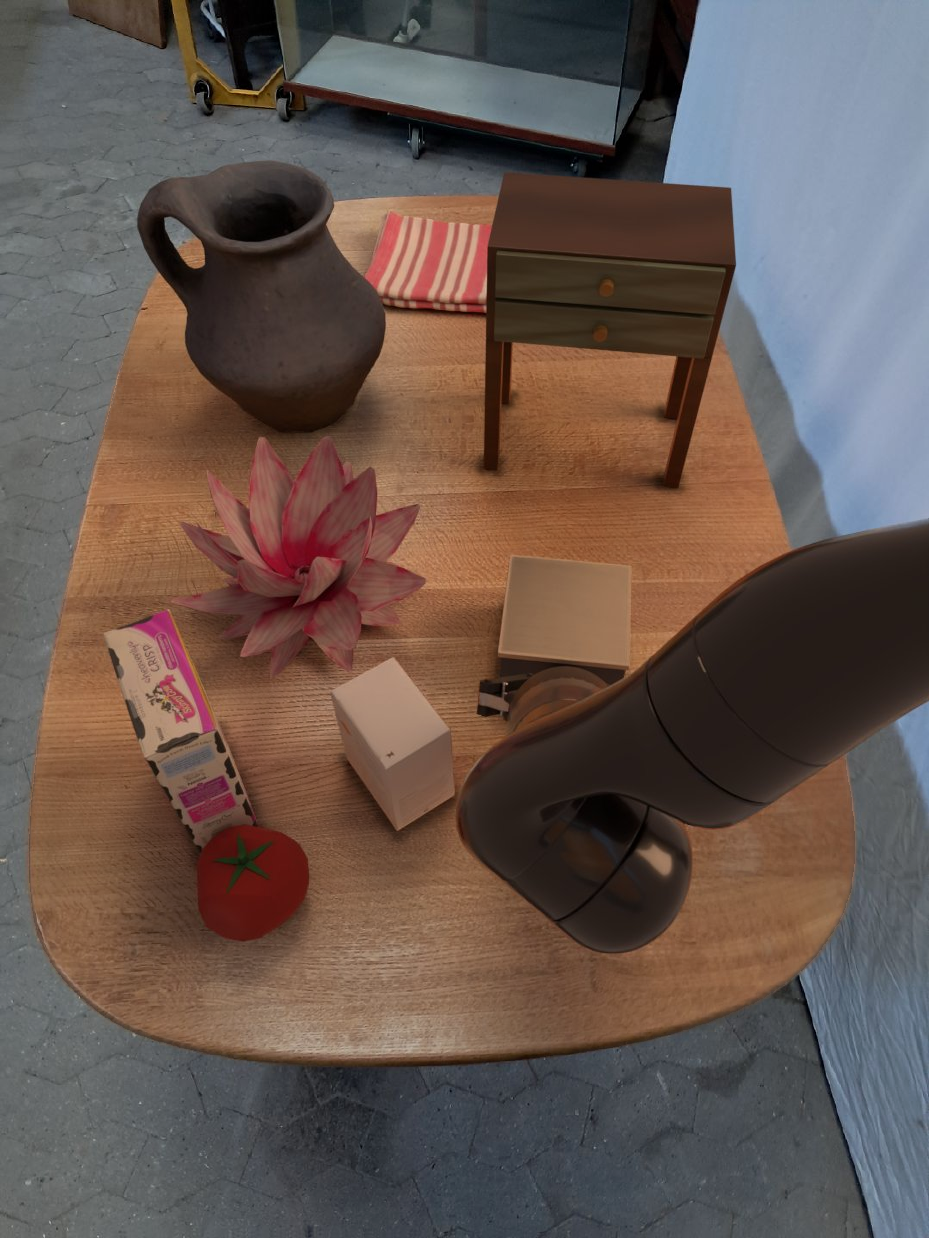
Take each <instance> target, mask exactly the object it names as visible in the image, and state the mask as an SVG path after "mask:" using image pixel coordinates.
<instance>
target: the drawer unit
mask: <svg viewBox="0 0 929 1238" xmlns="http://www.w3.org/2000/svg"><path fill="white" fill-rule="evenodd" d="M502 175H503V176H502V180H501V185H500V189H499V193H498V199H497V202H496V206H495V210H494V211H495V212H494V215H493V220H492V224H491V225H492V229H491V233H490V237H489V242H488V246H487V299H486V313H485V356H484V357H485V361H484V362H485V363H484V367H485V368H484V411H483V413H484V414H483V415H484V420H483V470H490V471H498V470H499V466H500V458H501V457H500V454H501V453H500V452H501V431H502V430H501V426H502V404H503V405H506V404H507V405H510V400H511V392H512V372H513V371H512V370H513V349H514V344H525V345H526V344H527V345H528V344H529V345H539V346H549V347H550V346H551V347H562V348H573V349H584V350H585V349H586V350H596V351H607V352H608V351H609V352H621V353H633V354H643V355H644V354H645V355H656V356H669V357H675V361H674V364H673V365H674V366H673V369H672V374H671V377H670V383H669V388H668V392H667V397H666V402H665V406H664V418H665V419H671V420H676V424H675V427H674V431H673V435H672V440H671V444H670V448H669V452H668V457H667V461H666V465H665V469H664V473H663V487H665V488H674V489H675V488H676V489H678V488H679V487H680V482H681V480H682V474H683V473H684V472H683V471H684V467H685V463H686V460H687V456H688V452H689V448H690V444H691V440H692V437H693V433H694V430H695V425H696V422H697V418H698V414H699V411H700V410H699V409H700V406H701V402H702V398H703V395H704V391H705V387H706V383H707V380H708V375H709V371H710V367H711V364H712V360H713V356H714V353H715V349H716V345H717V341H718V336H719V332H720V330H721V326H722V321H723V318H724V313H725V310H726V307H727V302H728V299H729V294H730V291H731V287H732V283H733V279H734V276H735V271H736V268H737V255H736V254H737V253H736V239H735V225H734V207H733V193H732V187H729V186H728V187H727V186H714V185H713V186H712V185H710V186H709V185H697V184H683V183H669V182H667V183H666V182H653V181H639V180H627V179H626V180H624V179H623V180H622V179H608V178H595V177H594V178H593V177H582V176H581V177H580V176H567V175H566V176H565V175H550V174H537V173H536V174H535V173H521V172H508V171H507V172H506V171H505V172H503V174H502Z"/></svg>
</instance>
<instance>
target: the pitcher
mask: <svg viewBox="0 0 929 1238" xmlns="http://www.w3.org/2000/svg"><path fill="white" fill-rule="evenodd" d="M334 209H335V201H334V197H333V194H332V191H331V189H330V188H329V187H328V185H327V183H326V181H324V180H323V178H321V177H320V175H317V173H314V172H313V171H311V170H308V169H306V168H305V167H301V166H299V165H296V164H292V163H288V162H282V161H277V160H257V161H256V160H255V161H245V162H239V163H233V164H226V165H223V166H220V167H218V168H216V169H215V170H213V171H212V172H210V173H207V174H201V175H196V176H178V177H177V176H175V177H169V178H166V179H163V180H161V181H159V182H158V183H156V184H155V185H153V186H152V187H151V188H149V189H148V191H147V192H146V193H145V196H144V198H143V199H142V200H141V203H140V205H139V208H138V212H137V219H136V225H137V226H136V228H137V231H138V234H139V237H140V240H141V243H142V247H143V249H144V250H145V253H146V255H147V256H148V258H149V260H150V262H151V263H152V265H153V266H154V267H155V269H156V270H157V272H158V273H159V274H160V276H161V278H163V280H164V281H165V282H166V283H167V284H168V286H169V287H170V288H171V289H172V290H173V292H174V293H175V294H176V296H177V297H178V299H179V300H180V302H181V303H182V304H183V306H184V307H185V310H186V323H185V329H184V345H185V348H186V352H187V354H188V356H189V358H190V360H191V362H192V363H193V365H194V367H195V368H196V369H197V371H198V372H199V373H200V375H202V377H203V378H205V380H207V382H209V383H210V384H211V385H212V386H213V387H215V389H217V390H218V391H220V393H222V394H224V395H225V396H226V397H228V398H229V399H231V400H232V401H234V402H235V403H236V405H238V406H239V407H240V409H241V410H242V411H244V412H245V413H246V414H247V415H249V416H250V417H252V418H253V419H255V420H256V421H258V422H259V423H261V424H263V425H264V426H266V427H268V428H270V429H273V430H275V431H277V432H278V433H283V434H285V433H313V432H316V431H318V430H322V429H325V428H327V427H331V426H332V425H333V424H334V423H336V422H338V421H340V419H341V418H342V417H344V416H345V415H346V414H347V412H348V411H349V409H350V408H351V407H352V406H353V405H354V403H355V401H356V399H357V396H358V394H359V393H360V391H361V390H362V388H363V385H364V384H365V382H366V379H367V378H368V375H369V374H370V373H371V371H372V369H373V368H374V366H375V364H376V362H377V360H378V359H379V357H380V355H381V352H382V349H383V346H384V343H385V337H386V336H385V335H386V331H387V330H386V329H387V322H386V320H387V319H386V318H387V317H386V316H387V315H386V311H385V308H384V305H383V304H384V303H382V301H381V299H380V297H379V295H378V292H377V291H376V290H375V288H374V287H373V285H372V284H371V283H370V282H369V281H368V280H367V279H366V278H365V277H364V275H363V274H362V273H360V271H358V269H356V268H355V267H354V266H353V265H352V264H351V262H350V261H349V260H348V259H347V258H346V257H345V256H344V254H343V253H342V251H341V250H340V249H339V248H338V245H337V244H336V242H335V240H334V238H333V236H332V235H331V232H330V230H329V227H328V222H329V220H330V217H331V215H332V214H333V211H334ZM166 218H173V219H175V220H176V221H178V222H179V223H181V225H183V226H184V227H186V229H188V230H189V231H190V232H191V233H192V234H193V235H194V236H195V237H196V238H197V239H198V241H200V243H201V246H202V248H203V253H204V265H202V266H200V267H195V268H194V267H192V266H189V265H188V264H187V262H186V261H185V260H184V259H183V257H182V256H181V254H180V252H179V251H178V249H177V248H176V247H175V244H174V242H173V241H172V240H171V238H170V236H169V234H168V232H167V230H166V223H165V222H166V221H165V219H166Z"/></svg>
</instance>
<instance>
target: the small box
mask: <svg viewBox="0 0 929 1238" xmlns="http://www.w3.org/2000/svg"><path fill="white" fill-rule="evenodd" d="M329 693H330V697H331V702H332V706H333V710H334V715H335V718H336V722H337V725H338V730H339V733H340V737H341V741H342V746H343V750H344V752H345V758H346V760H347V761H348V763H349V764H350V765H351V767H352V768H353V770H354V771H355V773H356V774H357V775H358V777H359V778H360V780H361V781H362V783H363V784H364V785H365V787H366V789H367V791H369V793H370V795H371V796H372V797H373V799H374V800H375V801H376V803H377V804H378V806H379V807H380V808H381V810H382V811H383V813H384V815H385V816H386V818H387V819H388V820H389V823H390V824H391V825H392V827H393V828H394V830H395V831H397V832H399V831H400V830H401V829H403V828H405V827H406V826H408V825H409V824H411V823H414V821H416V820H417V819H419V818H421V817H422V816H424V815H426V814H427V813H428V812H430V811H432V810H433V809H435V808H436V807H438V806H440V805H442V804H443V803H444V802H446V801H448V800H449V799H451V798H452V797H454V796H455V794H456V791H455V790H456V789H455V773H454V759H453V743H452V729H451V728H450V726H449V725H448V724H447V722H446V721H445V720H444V719H443V717H442V715H440V714H439V712H438V711H437V710H436V709H435V708H434V706H433V704H432V703H431V702H430V701H429V699H428V698H427V697H426V696H425V694H424V693H423V692H422V690H420V688H419V687H418V686H417V684H416V683H415V682H414V681H413V679H412V677H410V675H409V674H408V673H407V671H405V669H404V668H403V667H402V666H401V664H400V663H399V662H398V660H397V658H396V657H395V656H392V657H390V658H389V659H386V660H385V661H383V662H381V663H379V664H377V665H375V666H374V667H372V668H370V669H368V670H366V671H365V672H363V673H360V674H359V675H357V676H355V677H353V678H351V679H349V680H347V681H346V682H344V683H342V684H340V685H338V686H337V687H335V688H332V689H331V690H330V692H329Z"/></svg>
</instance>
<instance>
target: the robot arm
mask: <svg viewBox="0 0 929 1238" xmlns="http://www.w3.org/2000/svg"><path fill="white" fill-rule="evenodd" d="M478 683H479V684H478V690H477V698H476V699H477V701H476V715H478V716H480V717H483V718H488V717H495V716H500V717H502V718H503V720H504V721H505V722H506V728H505V732H504V737H502V738H501V739H499V740H498V741H497V742H495V743H494V744H493V745H492V746H490V748H488V749H487V750H486V751H485V752H484V753H482V755H481V756H480V757H479V758H478V759H477V760H476V762H475V763H474V764H473V765H472V766H471V768H470V769H469V771H468V773H467V774H466V776H465V778H464V779H463V781H462V784H461V786H460V788H459V790H458V795H457V799H456V804H455V813H454V815H455V827H456V831H457V834H458V837H459V838H458V839H459V841H460V842H461V845H462V846H463V848H464V849H465V851H466V852H467V853H468V854H469V855H470V857H471V858H472V859H473V860H474V861H475V862H477V864H479V865H480V866H481V867H482V868H483V869H484V870H486V872H488V873H489V874H491V875H492V876H493V877H494V878H496V880H497V881H499V882H501V884H503V885H504V886H505V887H506V888H507V889H509V890H510V891H511V892H512V893H514V894H515V895H516V896H517V897H518V898H519V899H521V900H522V901H523V902H525V904H527V905H528V906H529V907H531V909H533V910H534V911H535V912H536V913H538V914H539V915H540V916H542V917H543V918H544V919H546V920H547V922H549V923H550V924H551V925H552V926H553V927H554V928H556V929H557V930H558V931H559V932H561V934H563V935H564V936H565V937H566V938H568V939H569V940H571V941H572V942H574V943H575V944H576V945H578V946H580V947H582V948H584V949H587V950H589V951H591V952H595V953H599V954H604V955H618V954H619V955H620V954H627V953H632V952H634V951H637V950H639V949H642V948H644V947H646V946H648V945H650V944H652V943H653V942H655V941H656V940H657V939H658V938H660V937H661V936H662V935H663V934H664V933H666V931H667V930H668V929H669V928H670V927H671V926H672V925H673V923H674V922H675V920H676V919H677V917H678V916H679V915H680V913H681V911H682V909H683V906H684V905H685V903H686V899H687V897H688V894H689V892H690V888H691V884H692V878H693V872H694V855H693V854H694V853H693V847H692V846H693V845H692V841H691V838H690V835H689V832H688V830H687V827H686V825H687V826H689V827H690V826H691V827H693V828H698V829H702V830H708V831H710V830H711V831H717V830H719V831H720V830H725V829H729V828H732V827H735V826H737V825H739V824H742V823H744V822H745V821H747V820H750V819H751V818H753V817H754V816H756V815H757V814H759V813H761V812H762V811H764V810H765V809H766V808H768V807H769V806H771V805H773V804H774V803H776V802H777V801H778V800H779V799H780V798H783V797H784V796H786V795H787V794H789V793H790V792H792V791H793V790H794V789H796V788H797V787H799V786H800V785H802V784H803V783H805V782H806V781H808V780H809V779H811V778H812V777H813V776H814V777H815V775H817V774H818V773H819V772H821V771H823V770H824V769H825V768H828V766H830V765H831V764H833V763H835V762H836V761H837V760H840V759H841V758H842V757H843V756H845V755H846V754H848V753H849V752H850V751H852V750H854V749H855V748H856V747H859V745H861V744H863V743H864V742H866V740H868V739H869V738H871V737H872V736H874V735H875V734H877V733H879V732H880V731H883V729H885V728H887V727H888V726H890V725H891V724H893V723H895V722H896V721H898V720H900V719H902V717H905V716H906V715H908V714H909V713H912V712H913V711H915V709H917V708H919V707H921V706H923V705H924V704H926V703H928V702H929V517H927V518H922V519H918V520H913V521H908V522H902V523H897V524H892V525H887V526H881V527H876V528H871V529H865V530H861V531H857V532H853V533H847V534H843V535H838V536H834V537H830V538H825V539H821V540H819V541H815V542H812V543H809V544H806V545H802V546H800V547H798V548H795V549H793V550H790V551H787V552H785V553H782V554H781V555H779V556H776V557H775V558H772V559H771V560H768V561H767V562H765V563H762V564H761V565H759V566H758V567H756V568H754V569H752V570H751V571H750V572H748V573H746V574H745V575H743V576H742V577H740V578H739V579H737V580H736V581H735V582H733V583H732V584H731V585H730V586H728V587H727V588H726V589H724V590H723V591H722V592H720V593H719V594H718V595H717V596H716V597H715V598H714V599H713V600H711V602H709V603H708V604H707V605H706V606H705V607H704V608H702V610H701V611H699V612H698V613H697V614H696V615H695V616H694V617H692V619H691V620H689V621H688V622H687V623H686V624H685V625H684V626H683V627H682V628H680V630H678V631H677V633H676V632H675V634H674V635H673V636H672V637H671V638H669V640H667V641H666V643H664V644H662V646H661V647H660V648H658V649H657V650H656V652H655V653H654V654H653V655H651V656H650V657H649V658H648V659H647V660H646V661H644V662H643V663H642V664H641V665H640V666H639V667H638V668H636V669H635V670H634V671H632V672H631V673H629V674H627V675H626V676H624V678H623V679H621V680H619V681H618V682H616V683H614V684H612V685H610V684H607V683H605V682H604V681H603V680H602V679H600V678H599V677H598V676H596V675H594V674H593V673H591V672H589V671H586V670H584V669H581V668H576V667H569V666H560V667H553V668H549V669H546V670H543V671H541V672H539V673H537V674H535V675H533V674H532V673H527V674H521V675H513V676H506V677H499V676H498V677H491V678H484V679H480V680H479V681H478ZM520 686H521V687H520ZM519 687H520V688H519Z"/></svg>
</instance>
